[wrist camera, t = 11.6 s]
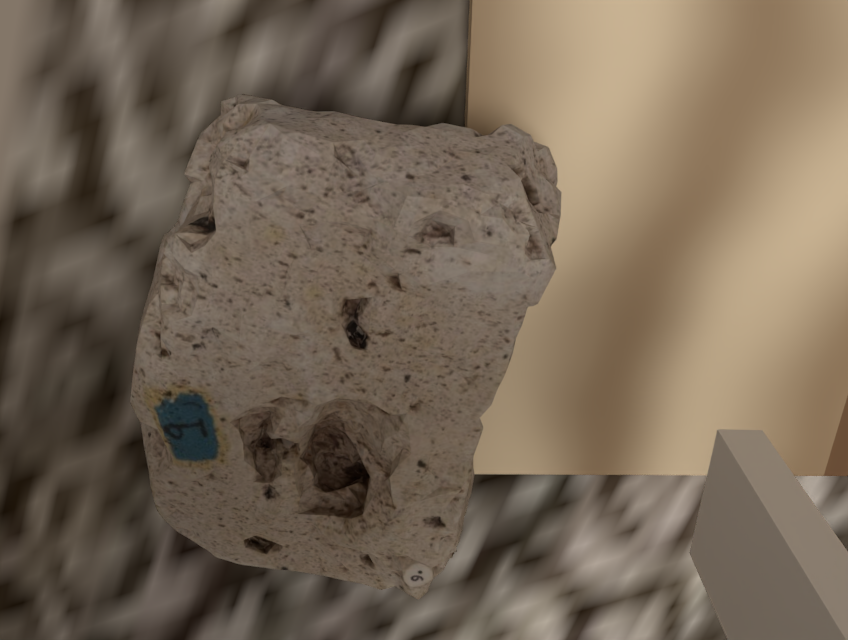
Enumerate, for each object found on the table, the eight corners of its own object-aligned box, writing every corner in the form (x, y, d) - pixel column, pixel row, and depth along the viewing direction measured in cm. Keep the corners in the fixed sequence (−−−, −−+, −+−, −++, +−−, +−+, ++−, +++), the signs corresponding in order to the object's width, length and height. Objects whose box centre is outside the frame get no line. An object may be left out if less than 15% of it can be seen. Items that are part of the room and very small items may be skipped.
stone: (428, 651, 21) (58, 551, 19) (438, 487, 25) (140, 394, 24) (712, 291, 13) (137, 68, 11) (652, 149, 18) (236, -26, 16)
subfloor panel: (450, 457, 23) (452, 473, 22) (486, -415, 14) (491, -434, 14) (1003, 460, 23) (1022, 476, 23) (1358, -386, 15) (1407, -404, 14)
